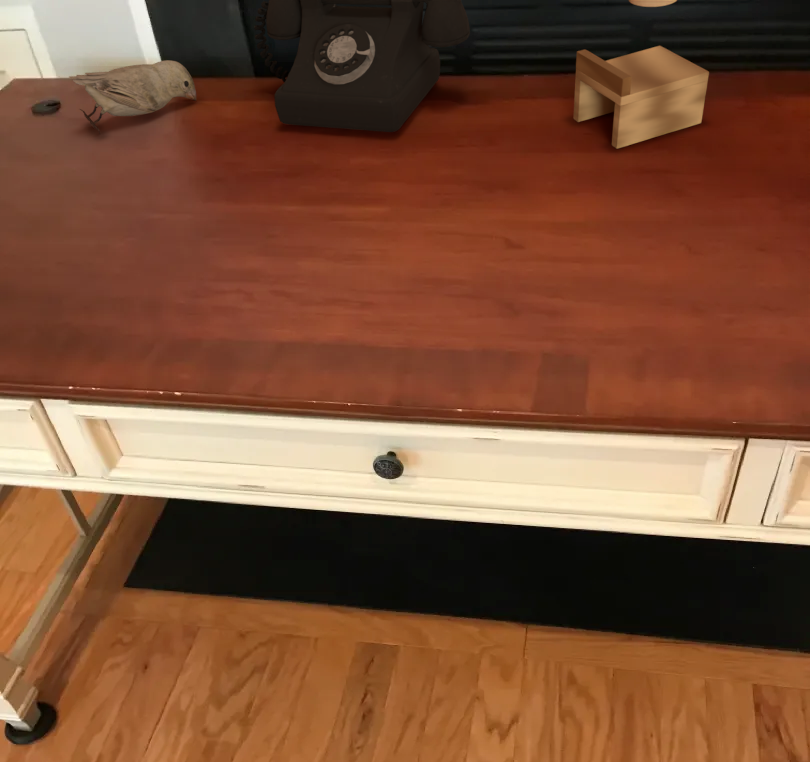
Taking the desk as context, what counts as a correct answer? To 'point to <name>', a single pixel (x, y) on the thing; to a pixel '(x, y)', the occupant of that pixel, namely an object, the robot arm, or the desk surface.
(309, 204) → the desk surface
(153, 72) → the decorative bird
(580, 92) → the wooden stand
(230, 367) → the desk surface
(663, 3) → the candle
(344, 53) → the rotary telephone
